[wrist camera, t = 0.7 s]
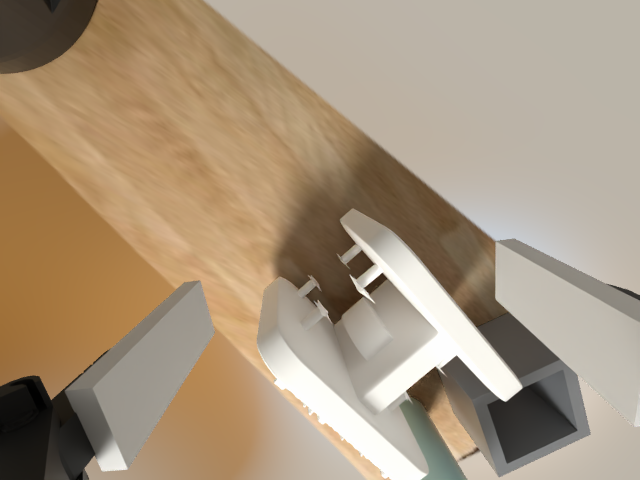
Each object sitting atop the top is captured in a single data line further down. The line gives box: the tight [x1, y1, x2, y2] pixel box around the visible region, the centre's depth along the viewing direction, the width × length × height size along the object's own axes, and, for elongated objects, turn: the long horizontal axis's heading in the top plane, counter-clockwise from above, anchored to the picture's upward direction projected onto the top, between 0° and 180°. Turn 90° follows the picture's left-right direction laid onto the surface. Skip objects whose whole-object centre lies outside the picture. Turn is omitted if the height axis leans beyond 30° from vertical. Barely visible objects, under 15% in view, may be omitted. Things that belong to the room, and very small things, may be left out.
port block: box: [437, 313, 590, 477], centre depth 28 cm, size 9×9×7 cm
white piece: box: [257, 208, 522, 480], centre depth 23 cm, size 15×11×12 cm
